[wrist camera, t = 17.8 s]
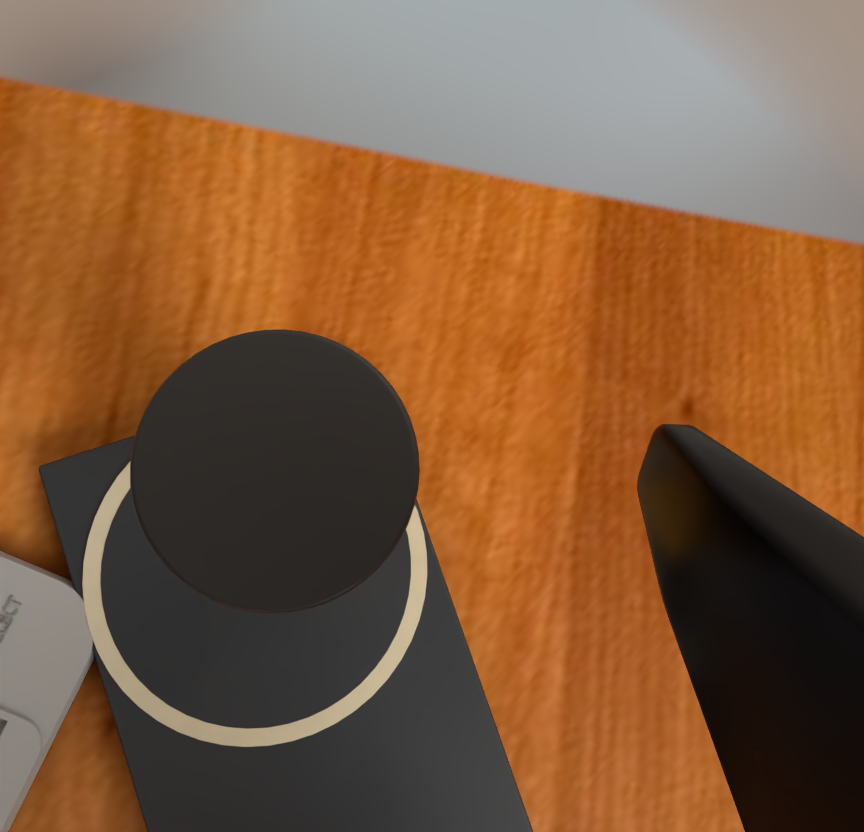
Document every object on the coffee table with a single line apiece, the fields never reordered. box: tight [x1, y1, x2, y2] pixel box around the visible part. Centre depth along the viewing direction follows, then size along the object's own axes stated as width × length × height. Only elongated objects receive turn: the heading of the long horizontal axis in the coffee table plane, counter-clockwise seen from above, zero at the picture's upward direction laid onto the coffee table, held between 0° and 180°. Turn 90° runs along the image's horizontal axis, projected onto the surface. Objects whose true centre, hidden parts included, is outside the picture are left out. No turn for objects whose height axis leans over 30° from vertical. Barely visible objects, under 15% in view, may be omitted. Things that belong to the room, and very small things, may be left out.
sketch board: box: [39, 435, 533, 832], centre depth 20 cm, size 17×9×1 cm, turn 20°
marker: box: [130, 330, 420, 614], centre depth 15 cm, size 3×3×12 cm
